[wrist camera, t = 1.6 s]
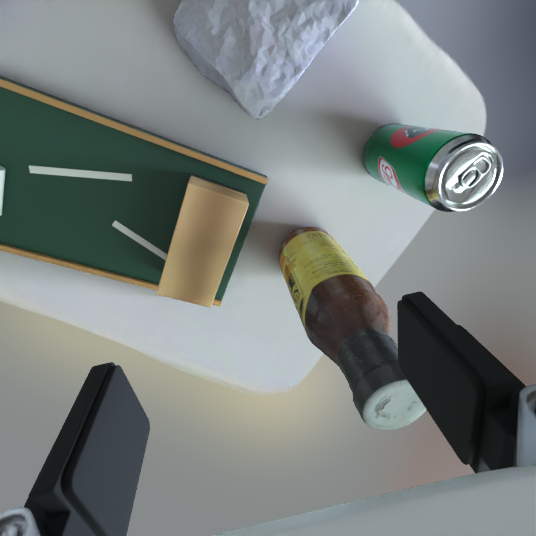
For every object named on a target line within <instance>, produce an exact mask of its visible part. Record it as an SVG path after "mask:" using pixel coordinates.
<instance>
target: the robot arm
mask: <svg viewBox="0 0 536 536" xmlns="http://www.w3.org/2000/svg"><path fill="white" fill-rule="evenodd" d="M397 308H398V309H397V310H398V363H399V367H400V369H401V371H402V373H403V375H404V376H405V378H406V379H407V381H408V382H409V384H410V385H411V387H412V388H413V390H414V391H415V393H416V394H417V396H418V397H419V399H420V400H421V402H422V403H423V405H424V406H425V408H426V409H427V411H428V412H429V414H430V415H431V417H432V418H433V420H434V421H435V423H436V424H437V426H438V427H439V429H440V430H441V432H442V433H443V435H444V436H445V438H446V439H447V441H448V442H449V444H450V445H451V447H452V448H453V450H454V451H455V453H456V454H457V456H458V457H459V459H460V460H461V462H462V463H464V464H465V465H467V464H469V465H470V466H471V468H472V469H473V470H474V472H475V474H471V475H466V476H461V477H457V478H452V479H448V480H443V481H439V482H434V483H429V484H425V485H420V486H416V487H412V488H408V489H403V490H399V491H395V492H391V493H387V494H382V495H378V496H374V497H370V498H366V499H361V500H357V501H353V502H349V503H344V504H340V505H336V506H332V507H328V508H324V509H319V510H316V511H311V512H307V513H303V514H299V515H295V516H291V517H286V518H282V519H278V520H274V521H270V522H266V523H262V524H258V525H254V526H250V527H246V528H241V529H237V530H233V531H229V532H225V533H221V534H217V535H213V536H536V384H533V385H530V386H527V387H526V386H525V385H524V384H523V383H522V382H521V381H520V380H519V379H518V378H517V377H516V376H514V374H512V373H511V372H510V371H509V370H508V369H507V368H506V367H505V366H504V365H503V364H502V363H501V362H500V361H499V360H498V359H496V358H495V357H494V356H493V355H492V354H491V353H490V352H489V351H488V350H487V349H486V348H485V347H484V346H483V345H481V344H480V343H479V342H478V341H477V340H476V339H475V338H474V337H473V336H472V335H471V334H470V333H469V332H468V331H467V330H466V329H464V328H463V327H462V326H460V325H456V324H455V323H454V322H453V321H452V320H451V319H450V318H449V317H448V316H447V315H446V314H445V313H444V312H443V311H442V310H440V309H439V308H438V307H437V306H436V305H435V304H434V303H433V302H432V301H431V300H430V299H429V298H428V297H427V296H426V295H425V294H424V293H422V292H416V293H412V294H407V295H404V296H403V297H402V300H400V301H398V305H397ZM149 430H150V424H149V420H148V418H147V416H146V414H145V412H144V410H143V408H142V406H141V404H140V402H139V400H138V398H137V397H136V395H135V393H134V391H133V389H132V387H131V385H130V383H129V381H128V380H127V377H126V376H125V374H124V372H123V370H122V368H121V367H120V366H119V365H117V366H116V365H115V364H114V363H106V364H102V365H98V366H94V367H92V369H91V370H90V372H89V374H88V377H87V378H86V380H85V382H84V384H83V386H82V388H81V390H80V392H79V394H78V396H77V398H76V401H75V403H74V405H73V407H72V409H71V411H70V413H69V415H68V417H67V419H66V421H65V423H64V425H63V427H62V429H61V431H60V433H59V435H58V437H57V439H56V441H55V443H54V445H53V447H52V449H51V451H50V454H49V455H48V457H47V459H46V461H45V463H44V465H43V467H42V470H41V472H40V473H39V475H38V478H37V480H36V482H35V484H34V486H33V488H32V490H31V492H30V494H29V497H28V499H27V501H26V503H25V506H24V507H16V508H12V509H10V510H7V511H5V512H3V513H1V514H0V536H126V534H127V530H128V525H129V521H130V516H131V512H132V508H133V503H134V499H135V494H136V490H137V485H138V481H139V476H140V472H141V467H142V462H143V458H144V453H145V449H146V444H147V440H148V436H149Z"/></svg>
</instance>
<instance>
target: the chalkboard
mask: <svg viewBox="0 0 536 536" xmlns="http://www.w3.org/2000/svg"><path fill="white" fill-rule="evenodd" d="M0 166H2V167H4V168H5V169H6V170H5V184H4V197H3V210H2V215H1V216H0V250H1V251H5V252H9V253H13V254H17V255H21V256H25V257H28V258H32V259H36V260H40V261H44V262H48V263H52V264H56V265H60V266H64V267H68V268H72V269H76V270H79V271H83V272H87V273H91V274H95V275H99V276H103V277H107V278H111V279H115V280H119V281H123V282H127V283H131V284H134V285H138V286H142V287H146V288H150V289H154V290H157V289H158V286H159V282H160V279H161V276H162V272H163V269H164V265H165V262H166V258H167V255H168V251H169V248H170V244H171V241H172V237H173V234H174V230H175V227H176V223H177V220H178V217H179V213H180V210H181V206H182V203H183V199H184V196H185V192H186V189H187V185H188V182H189V179H190V177H191V174H192V173H194V174H197V175H199V176H202V177H205V178H208V179H211V180H213V181H216V182H219V183H222V184H225V185H228V186H230V187H233V188H236V189H239V190H242V191H244V192H246V196H247V199H248V202H249V206H248V208H247V211H246V214H245V217H244V219H243V222H242V225H241V227H240V230H239V233H238V236H237V238H236V241H235V244H234V246H233V249H232V252H231V255H230V257H229V260H228V263H227V265H226V268H225V271H224V274H223V276H222V279H221V282H220V284H219V287H218V290H217V292H216V295H215V298H214V301H213V303H212V304H213V305H217V306H221V303H222V298H223V296H224V293H225V290H226V288H227V285H228V282H229V280H230V277H231V275H232V272H233V269H234V267H235V264H236V261H237V259H238V256H239V253H240V251H241V248H242V246H243V243H244V240H245V238H246V235H247V232H248V230H249V227H250V225H251V222H252V219H253V217H254V214H255V211H256V209H257V206H258V204H259V201H260V198H261V196H262V193H263V190H264V188H265V185H267V182H268V178H267V177H266V176H265V175H262V174H259V173H257V172H254V171H251V170H249V169H246V168H243V167H241V166H238V165H235V164H233V163H230V162H228V161H225V160H222V159H220V158H217V157H214V156H212V155H209V154H206V153H204V152H201V151H198V150H196V149H193V148H190V147H188V146H185V145H182V144H180V143H177V142H174V141H172V140H169V139H166V138H164V137H161V136H158V135H156V134H153V133H151V132H148V131H145V130H143V129H140V128H137V127H135V126H132V125H129V124H127V123H124V122H121V121H119V120H116V119H113V118H111V117H108V116H105V115H103V114H100V113H97V112H95V111H92V110H89V109H87V108H84V107H81V106H79V105H76V104H74V103H71V102H68V101H66V100H63V99H60V98H58V97H55V96H52V95H50V94H47V93H44V92H42V91H39V90H36V89H34V88H31V87H28V86H26V85H23V84H20V83H18V82H15V81H12V80H10V79H7V78H4V77H2V76H0Z"/></svg>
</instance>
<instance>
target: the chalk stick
mask: <svg viewBox="0 0 536 536" xmlns="http://www.w3.org/2000/svg"><path fill="white" fill-rule="evenodd" d="M5 170H6V169H5V168H4V167H2V166H0V216H1V215H2V210H3V197H4V184H5Z"/></svg>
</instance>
